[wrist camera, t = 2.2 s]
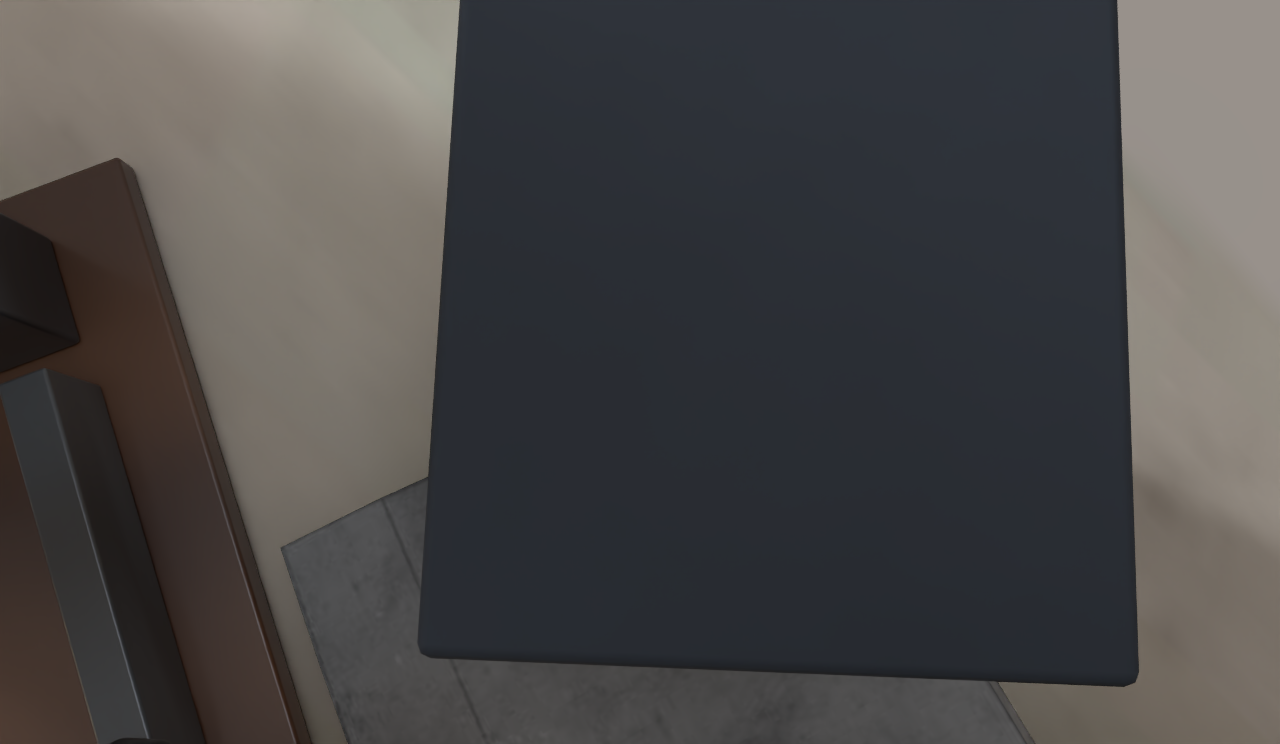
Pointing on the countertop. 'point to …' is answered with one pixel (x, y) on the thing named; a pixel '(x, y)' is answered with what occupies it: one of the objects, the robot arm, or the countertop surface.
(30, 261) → the pad mount
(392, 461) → the countertop surface
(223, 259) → the countertop surface
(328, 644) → the cleaver
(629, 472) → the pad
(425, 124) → the countertop surface
